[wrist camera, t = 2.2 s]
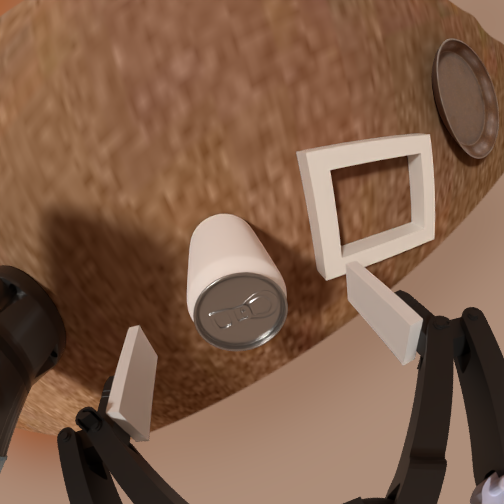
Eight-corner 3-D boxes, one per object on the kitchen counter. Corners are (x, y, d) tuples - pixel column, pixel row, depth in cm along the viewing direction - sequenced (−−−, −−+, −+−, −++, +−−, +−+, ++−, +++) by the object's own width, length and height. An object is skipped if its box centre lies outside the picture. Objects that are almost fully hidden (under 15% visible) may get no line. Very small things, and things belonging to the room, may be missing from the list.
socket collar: (317, 270, 30) (326, 280, 27) (296, 151, 24) (305, 152, 22) (421, 232, 31) (434, 238, 29) (415, 133, 26) (429, 134, 23)
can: (264, 261, 28) (304, 333, 17) (205, 283, 28) (212, 368, 17) (243, 202, 25) (278, 248, 14) (179, 227, 25) (166, 291, 14)
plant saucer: (488, 83, 24) (501, 83, 21) (479, 173, 30) (492, 176, 27) (423, 19, 20) (438, 15, 17) (412, 122, 25) (429, 122, 23)
